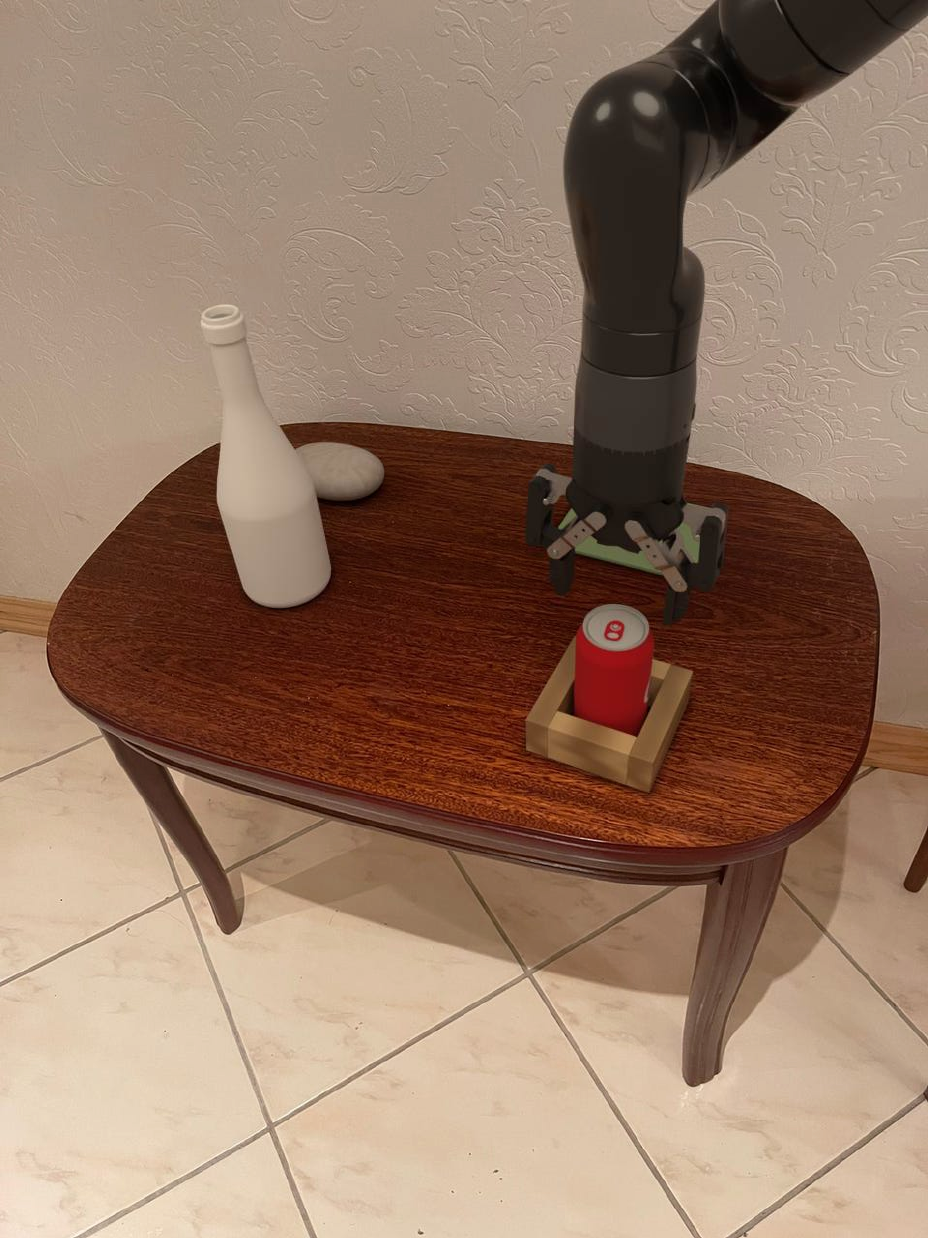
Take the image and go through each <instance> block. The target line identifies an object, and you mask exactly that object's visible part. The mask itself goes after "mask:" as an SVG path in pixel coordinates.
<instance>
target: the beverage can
mask: <svg viewBox="0 0 928 1238" xmlns="http://www.w3.org/2000/svg"><path fill="white" fill-rule="evenodd" d="M648 621H649V620H648V619H647V617H646V616H645V615H644V614H643V613H642V612H641V611H640V610H638V609H636V608H634V607H631V606H629V605H625V604H620V603H619V604H618V603H610V604H609V603H608V604H604V605H600V606H597V607H595V608H593V609H592V610H590V611H589V612H588V613H587V614H586V615H585V617H584V619H583V622H582V623H581V625H580V626H579V628H578V630H577V632H576V635H575V636H576V649H575V687H574V709H573V716H574V717H577V718H580V719H583V720H586V721H589V722H592V723H595V724H598V725H601V726H604V727H607V728H611V729H614V730H617V731H620V732H623V733H626V734H629V735H632V736H635V737H638V735H639V733H640V730H641V728H642V726H643V724H644V722H645V720H646V718H647V715H648V707H649V706H648V697H649V688H650V679H651V670H652V661H653V659H654V652H655V638H654V634H653V631H652V630H651V628H650V623H649V622H648Z"/></svg>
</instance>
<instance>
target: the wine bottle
mask: <svg viewBox="0 0 928 1238" xmlns="http://www.w3.org/2000/svg"><path fill="white" fill-rule="evenodd" d="M200 327H201V331H202V335H203V338H204V341H205V342H206V343H208V345H209V349H210V350H209V351H210V354H211V359H212V363H213V367H214V371H215V375H216V380H217V383H218V387H219V391H220V396H221V400H222V423H221V436H220V437H221V438H220V450H219V459H218V466H217V467H218V469H217V476H216V503H217V507H218V510H219V514H220V517H221V520H222V524H223V527H224V530H225V533H226V537H227V541H228V543H229V547H230V550H231V553H232V556H233V560H234V563H235V567H236V570H237V574H238V576H239V580H240V583H241V586H242V590H243V591H244V593H245V594H246V595H247V597H248V598H249V599H251V600H252V602H254V603H256V604H258V605H260V606H264V607H267V608H273V609H287V608H291V607H298V606H300V605H303V604H306V603H308V602H309V601H311V600H313V599H315V598H316V597H318V596H319V595H320V594H321V593H322V592H323V591H324V590H325V589H326V587H327V586H328V583H329V582H330V580H331V575H332V574H331V572H332V565H331V561H330V556H329V555H330V554H329V549H328V545H327V541H326V537H325V532H324V526H323V521H322V517H321V512H320V508H319V507H320V506H319V503H318V497H316V492H315V487H314V483H313V480H312V478H311V476H310V474H309V472H308V470H307V468H306V467H305V465H304V463H303V461H302V460H301V458H300V457H299V455H298V454H297V452H296V451H295V449H296V448H294V446H293V445H292V443H291V442H290V439H288V437H287V436H286V434H285V433H284V431H283V429H282V427H281V426H280V424H279V423H278V421H277V420H276V419H275V417H274V415H273V413H272V412H271V411H270V409H269V407H268V406H267V403H266V402H265V399H264V397H263V395H262V393H261V390H260V387H259V382H258V379H257V375H256V371H255V367H254V363H253V360H252V355H251V351H250V348H249V344H248V341H247V338H246V336H247V334H248V329H247V323H246V320H245V316H244V314H243V313H242V312H241V311H240V309H239V307H237V306H236V305H233V304H217V305H213V306H211V307H208V308H206V309H205V310H204V311H202V313H201V320H200Z"/></svg>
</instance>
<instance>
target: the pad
mask: <svg viewBox="0 0 928 1238" xmlns="http://www.w3.org/2000/svg"><path fill="white" fill-rule="evenodd" d="M687 505H693V506H699V507H705V508H709V506H704V505H699V504H694V503H690V502H687ZM575 516H576V514H575V512H574V510H573V509H572V507H570V510H569V511H568V512H567V514H565V517H564V518H563V520H562V521H561V523H560V524H559V525H558V527H557V528H559V529H562V528H563V527H564V526H565V525H567V524H568V523H569V522H570V521H571V520H572V519H574V517H575ZM678 530H679V531H680V533H681V534H682V536H683V539H684V546H685V548H686V549H687V551H688V552H689V554H690V555H691V557H692V559H693V560H694V562H695V563H698V557H699V545H700V541H699V542H697V541H695V540H694V537H693V535H692V533H691V528H690V527H689V526H688V525H687V524H685V523H681V525H680V526H679V527H678ZM659 543H660V545H662V540H661V541H660V542H659ZM575 554H577V555H582V556H585V557H590V558H593V559H597V560H600V561H605V562H608V563H612V564H617V565H620V566H623V567H628V568H632V569H636V570H640V571H644V572H647V573H652V574H655V575H659V576H662V577H664V575H663V574H662V572H661V571H660V570H655V569H654V568H653V566H652V565H651V563H650V562H649V560H648V559H647V557H646V556H645V554H644V553H643V551H640V552H639V553H638V554H636V553H632V552H629V551H626V550H624V549H622V548H620V547H618V546H605V545H601V544H597V540H596V539H594V538H593V537H592V536H591V535H590V536H589V537H588V538H587V539H585V540H584V541H583V542H582V543H581V544H579V545H578V546H577V547H576V548H575Z"/></svg>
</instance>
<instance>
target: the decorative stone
mask: <svg viewBox="0 0 928 1238" xmlns="http://www.w3.org/2000/svg"><path fill="white" fill-rule="evenodd" d="M294 449H295V451H296V452H297V454H298V455H299V457H300V458H301V460H302V461H303V463H304V465H305V467H306V468H307V470H308V472H309V474H310V476H311V478H312V480H313V483H314V487H315V492H316V497H317V499H322V500H327V501H337V502H339V501H340V502H348V501H355V500H356V501H357V500H358V499H363V498H365V497H368V496H370V495H371V494H373V493H375V492H376V491H377V490H378V489H379V487H381V485H382V483H383V482H384V478H385V468H384V464H383V463H382V461H381V460H380V458H378V456H377V455H375V454H373V453H372V452H370V451H369V450H366V449H364V448H362V447H359V446H356V445H352V444H348V443H341V442H333V441H332V442H331V441H329V442H328V441H322V442H312V443H311V442H310V443H307V444H304V445H301V446H299V447H296V448H294Z"/></svg>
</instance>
